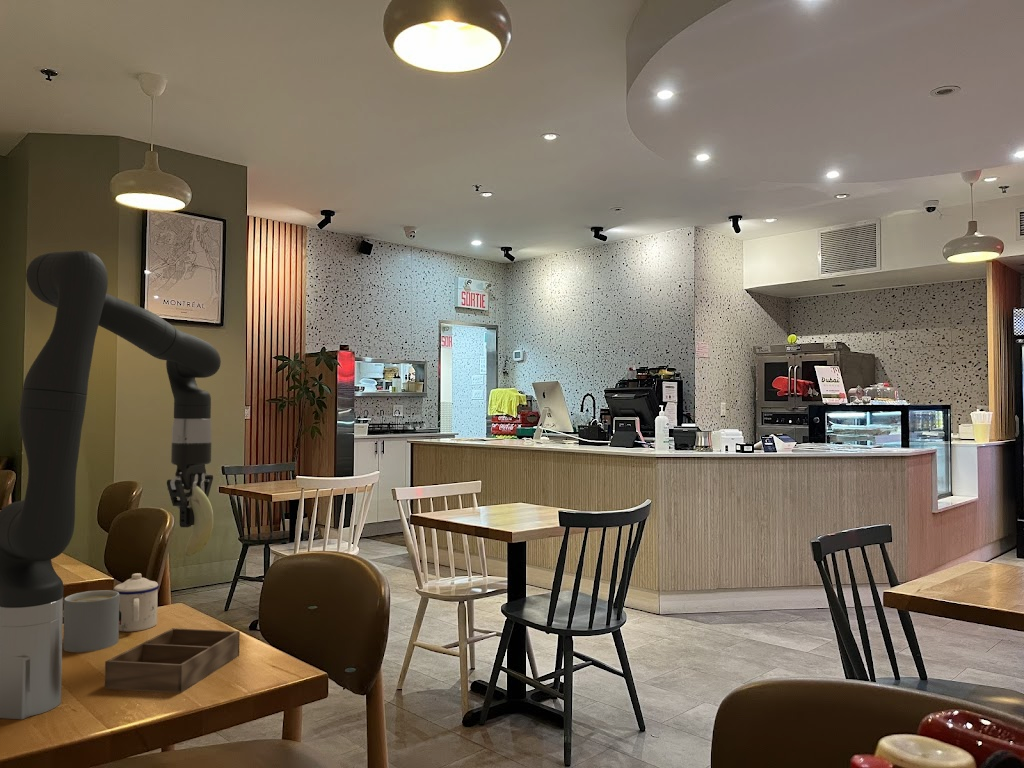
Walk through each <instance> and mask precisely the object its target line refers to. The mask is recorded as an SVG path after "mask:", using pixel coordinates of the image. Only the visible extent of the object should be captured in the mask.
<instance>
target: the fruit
mask: <svg viewBox="0 0 1024 768" xmlns="http://www.w3.org/2000/svg"><path fill="white" fill-rule="evenodd" d="M166 489H167V491H168V492H169V490H168V487H167V488H166ZM189 492H190V489H189V490H185V489H184V493H189ZM186 500H187V496H186ZM191 502H192V509H193V512H194V525H193V528H192V532H191V534H190V536H189V538H188V541H187V543H186V546H185V550H184V555H185V556H187V557H191V556H194V555H196V554H198V553H200V552H202V550H204V548H206V546H207V544H208V542H209V540H210V538H211V536H212V533H213V529H214V511H213V507H212V503H211V501H210V500H209V496H208V497H207V496H206V494H205V493H204V492H203V491H202V490H201V489H200V488H199V487H198V486H197V485H196V487H195V490H194V495H193V496H192V497H191Z"/></svg>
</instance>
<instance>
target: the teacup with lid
mask: <svg viewBox="0 0 1024 768" xmlns="http://www.w3.org/2000/svg"><path fill="white" fill-rule="evenodd" d="M159 587H160V586H159V584H158V582H157V581H155V580H150V579H148V578H146V577H142V573H140V572H139V573H138V572H137V573H132V574H131V578H129V579H126V580H125V581H124V582H121V583H119V584H116V585H115V586H114V588H113V590H112V591H117V592H119V632H123V633H125V632H127V633H128V632H130V633H131V632H138V631H139V632H140V631H145V630H149V629H151V628H153V627H154V626H156V625H157V623H158V591H159V590H158V589H159Z"/></svg>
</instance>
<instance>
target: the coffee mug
mask: <svg viewBox="0 0 1024 768" xmlns="http://www.w3.org/2000/svg"><path fill="white" fill-rule="evenodd" d="M119 632H120V631H119V592H117V591H113V590H112V589H111V590H110V589H108V590H107V589H105V590H88V591H81V592H76V593H73V594H70V595H67V596H66V597H64V598H63V631H62V650H63V651H65V652H69V653H86V652H87V653H88V652H89V653H90V652H94V651H95V652H96V651H100V650H105V649H108V648H111V647H113V646H116V645H117V644H118V643H119V635H120V634H119Z"/></svg>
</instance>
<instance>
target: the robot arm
mask: <svg viewBox="0 0 1024 768" xmlns="http://www.w3.org/2000/svg"><path fill="white" fill-rule="evenodd" d="M25 278H26V283H27V287H28V288H29V290H30V292H31V293H32V294H33V296H35V297H36V298H37V299H38V300H40V301H41V302H43V303H45V304H47V305H49V306H52V307H55V308H56V313H55V320H54V324H53V326H52V330H51V333H50V335H49V338H48V339H47V341H46V342H45V344H44V345H43V347H42V348H41V350H40V352H39V353H38V355H37V357H36V358H35V360H34V361H33V363H32V364H31V365H30V368H29V370H28V371H27V373H26V376H25V379H24V382H23V385H22V393H21V398H20V399H21V400H20V404H19V405H20V406H19V414H18V415H19V416H18V418H19V419H18V420H19V431H20V436H21V439H22V443H23V447H24V451H25V454H26V455H25V456H26V459H27V460H26V461H27V468H28V472H27V473H28V474H27V475H28V476H27V485H26V489H25V496H24V500H19V501H17V500H16V501H14V502H11V503H9V504H7V505H5V506H4V507H3V508H2V509H0V719H9V720H12V719H13V720H25V719H26V718H29V717H33V716H36V715H40V714H43V713H46V712H49V711H51V710H53V709H55V708H56V707H59V706H60V704H61V703H62V676H63V675H62V671H63V670H62V669H63V667H62V666H63V665H62V662H63V661H62V660H63V629H64V582H63V579H62V578H61V577H60V576H59V575H58V573H56V570H55V569H54V567H53V563H52V560H54V559H55V558H57V557H58V556H59V557H60V555H61V554H62V553H63V552H65V550H66V549H67V547H68V546H69V544H70V542H71V540H72V538H73V535H74V531H75V521H76V520H75V519H76V480H77V478H76V477H77V468H78V460H79V453H80V447H81V436H82V429H83V425H84V417H85V413H86V412H85V411H86V406H87V399H88V391H89V390H88V389H89V388H88V387H89V379H90V372H91V367H92V360H93V353H94V346H95V341H96V337H97V333H98V328H99V326H100V327H101V328H103V329H104V330H107V331H109V332H112V334H114V335H117V336H118V337H119V338H121V339H124V340H125V341H127V342H128V343H130V344H132V345H133V346H135V347H137V348H138V349H140V350H142V351H143V352H145V353H147V354H149V355H150V356H152V357H154V358H156V359H158V360H160V361H161V360H162V361H165V362H166V363H165V366H166V367H165V368H166V373H167V378H168V380H169V381H168V382H169V384H170V389H171V393H172V396H173V422H172V428H171V451H170V453H171V454H170V455H171V458H170V460H171V461H170V463H171V464H172V465H176V471H175V473H174V474H175V475H174V476H175V477H173V479H167V480H166V485H167V488H168V490H169V491H168V490H167V491H168V493H169V497H170V501H171V504H172V507H177V508H178V509H179V528H190V527H192V526H194V512H193V509H192V502H191V497H192V496H193V495H194V490H195V487H196V485H197V486H198V487H199V488H200V489H201V490H202V491H203V492H204V493H205V494H206V496H207V497H208V498H209V495H210V492H211V487H212V485H213V484H212V483H213V481H214V475H213V474H207V470H206V465H209V464H210V463H212V442H213V441H212V438H213V437H212V433H213V430H212V421H211V419H212V418H211V416H212V415H211V413H212V397H211V394H210V392H208V391H207V390H204V389H200V388H199V387H198V384H197V381H196V379H197V378H198V379H201V378H202V379H203V378H204V379H206V378H210V377H212V376H214V375H215V374H217V372H218V371H219V370H220V368H221V363H222V362H221V361H222V360H221V356H220V354H219V352H218V350H217V349H216V348H215V347H214V346H213V344H211V343H210V342H209V341H206V340H204V339H202V338H200V337H197V336H195V335H193V334H191V333H187V332H184V331H183V330H180V329H178V328H177V327H175V326H174V325H172V324H171V323H169V322H168V321H166V320H165V319H163V317H161V316H159V315H157V314H156V313H154V312H152V311H150V310H148V309H145V308H143V307H141V306H139V305H136V304H134V303H130V302H127V301H125V300H123V299H120V298H118V297H116V296H114V295H112V294H109V293H108V286H109V280H108V279H109V277H108V271H107V268H106V266H105V263H104V262H103V260H102V259H101V257H99V255H97V254H95V253H94V252H91V251H87V250H69V251H66V250H65V251H58V252H57V251H56V252H48V253H44V254H40V255H38V256H36V257H35V258H33V260H32V261H30V263H29V264H28V266H27V268H26V276H25ZM184 489H185V490H189V489H190V492H189V493H184ZM186 496H187V500H186Z"/></svg>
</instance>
